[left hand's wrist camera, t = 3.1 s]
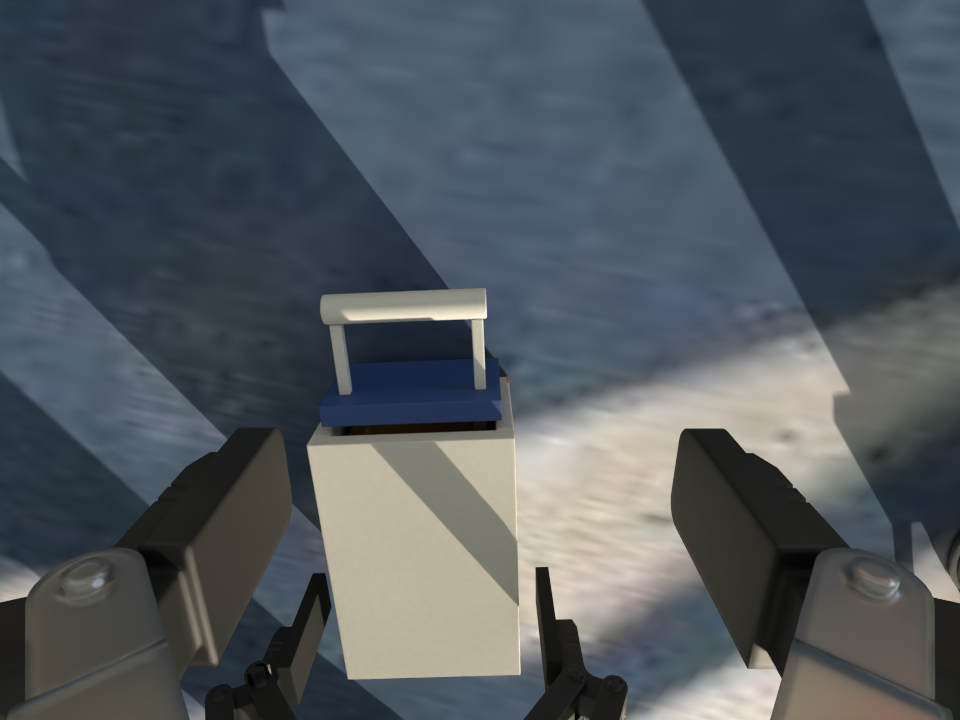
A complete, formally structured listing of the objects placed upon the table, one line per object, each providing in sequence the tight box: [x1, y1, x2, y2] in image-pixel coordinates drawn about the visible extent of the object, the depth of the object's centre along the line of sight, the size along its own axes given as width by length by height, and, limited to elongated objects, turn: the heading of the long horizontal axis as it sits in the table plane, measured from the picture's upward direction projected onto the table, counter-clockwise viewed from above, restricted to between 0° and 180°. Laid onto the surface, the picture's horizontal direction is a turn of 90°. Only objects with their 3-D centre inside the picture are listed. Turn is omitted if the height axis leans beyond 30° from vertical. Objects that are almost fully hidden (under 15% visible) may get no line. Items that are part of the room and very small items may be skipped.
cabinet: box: [307, 377, 520, 679], centre depth 35 cm, size 16×11×8 cm, turn 3°
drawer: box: [318, 288, 502, 436], centre depth 33 cm, size 21×10×6 cm, turn 3°
